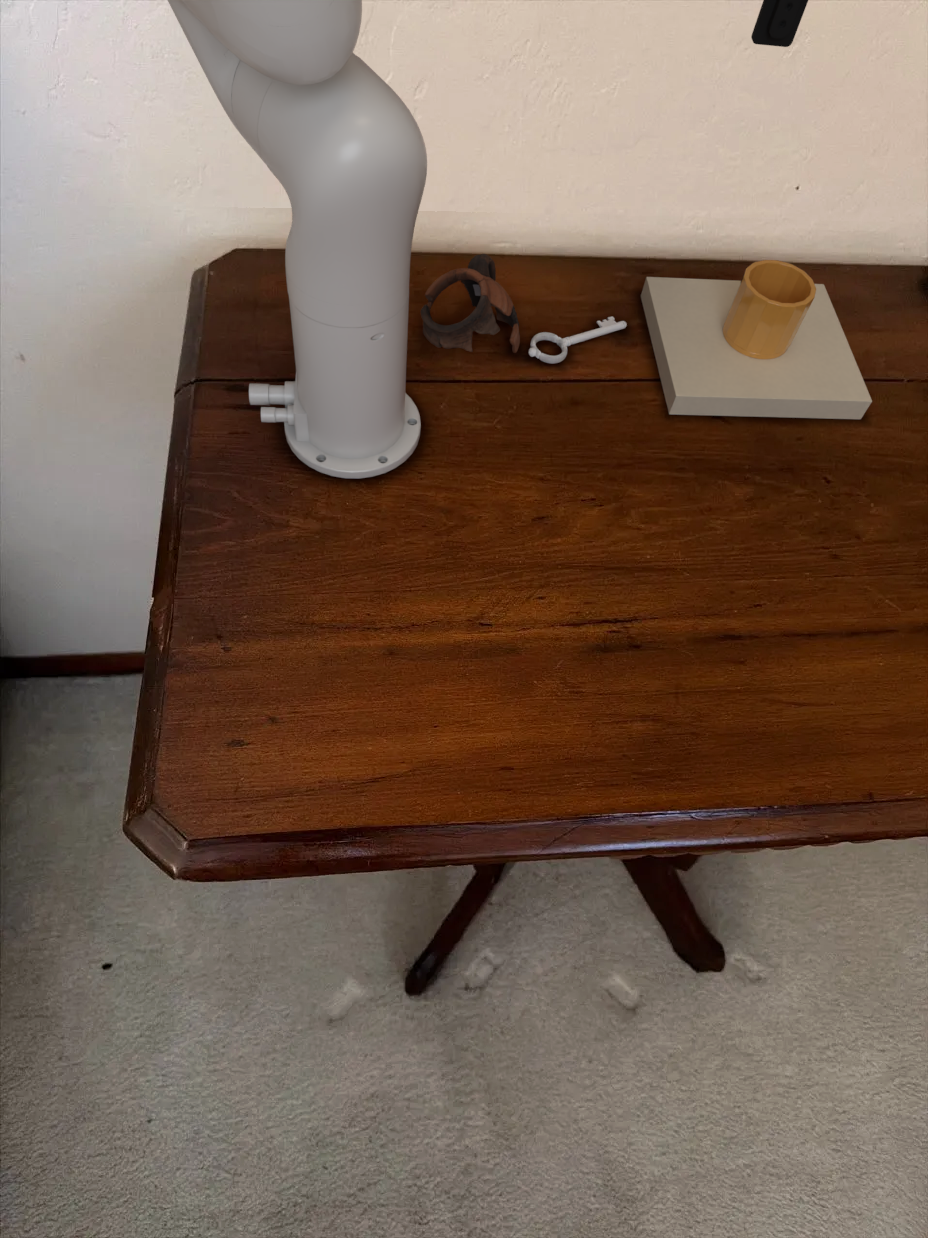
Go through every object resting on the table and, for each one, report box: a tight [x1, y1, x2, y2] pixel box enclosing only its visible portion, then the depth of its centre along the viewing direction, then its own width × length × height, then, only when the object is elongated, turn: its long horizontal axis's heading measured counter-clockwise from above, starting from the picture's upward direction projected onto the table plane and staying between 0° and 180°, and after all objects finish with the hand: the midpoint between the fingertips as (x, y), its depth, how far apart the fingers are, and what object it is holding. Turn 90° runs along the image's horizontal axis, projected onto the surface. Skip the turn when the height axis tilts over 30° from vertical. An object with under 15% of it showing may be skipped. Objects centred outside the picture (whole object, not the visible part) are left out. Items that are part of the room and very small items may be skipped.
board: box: [640, 276, 873, 420], centre depth 92 cm, size 20×18×2 cm
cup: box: [723, 259, 816, 359], centre depth 88 cm, size 7×7×6 cm
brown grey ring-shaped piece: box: [419, 253, 521, 354], centre depth 89 cm, size 12×10×8 cm
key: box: [527, 316, 628, 365], centre depth 91 cm, size 12×1×4 cm
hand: (756, 13), depth 71 cm, fingers open, 9 cm apart
